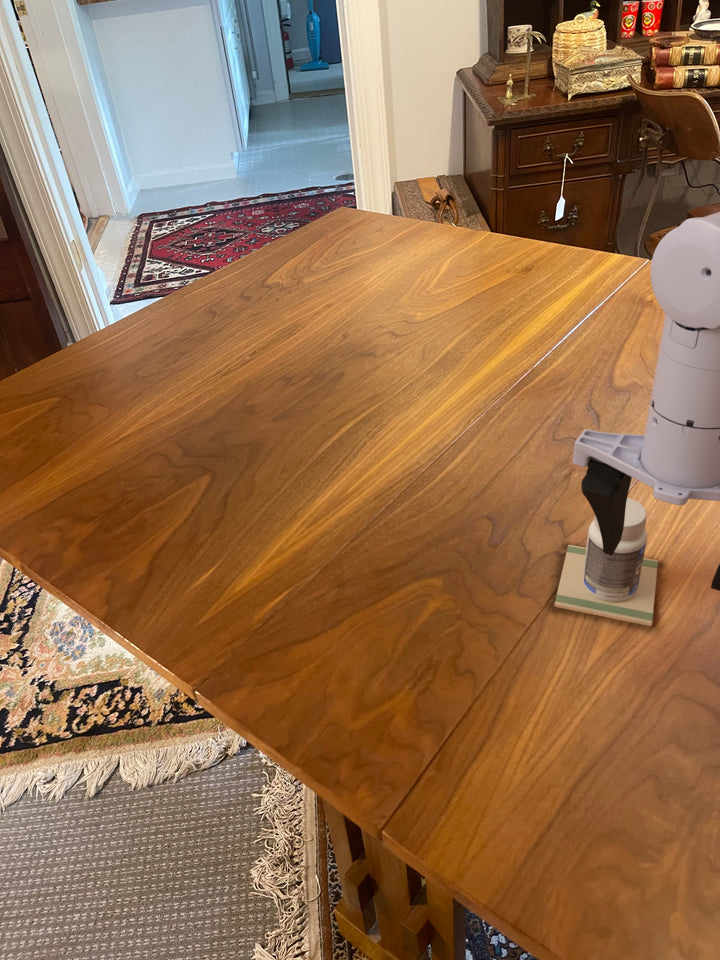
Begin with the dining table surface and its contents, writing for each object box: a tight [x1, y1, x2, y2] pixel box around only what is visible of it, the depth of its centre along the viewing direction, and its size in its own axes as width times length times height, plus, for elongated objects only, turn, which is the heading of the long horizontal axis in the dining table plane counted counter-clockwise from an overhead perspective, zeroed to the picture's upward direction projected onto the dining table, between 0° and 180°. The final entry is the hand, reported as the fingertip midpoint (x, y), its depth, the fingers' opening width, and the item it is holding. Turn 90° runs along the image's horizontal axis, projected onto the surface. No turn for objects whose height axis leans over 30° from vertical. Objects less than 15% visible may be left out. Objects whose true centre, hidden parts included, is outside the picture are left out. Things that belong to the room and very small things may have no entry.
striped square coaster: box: [554, 544, 659, 627], centre depth 66 cm, size 8×8×1 cm
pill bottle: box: [583, 497, 648, 601], centre depth 63 cm, size 5×5×8 cm
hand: (663, 563), depth 54 cm, fingers open, 7 cm apart
